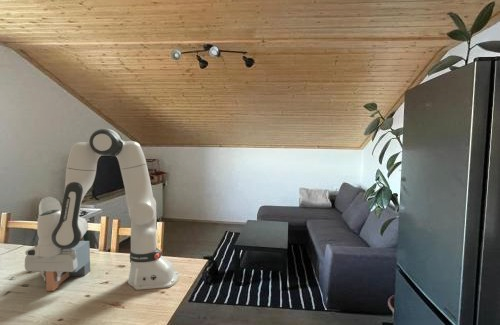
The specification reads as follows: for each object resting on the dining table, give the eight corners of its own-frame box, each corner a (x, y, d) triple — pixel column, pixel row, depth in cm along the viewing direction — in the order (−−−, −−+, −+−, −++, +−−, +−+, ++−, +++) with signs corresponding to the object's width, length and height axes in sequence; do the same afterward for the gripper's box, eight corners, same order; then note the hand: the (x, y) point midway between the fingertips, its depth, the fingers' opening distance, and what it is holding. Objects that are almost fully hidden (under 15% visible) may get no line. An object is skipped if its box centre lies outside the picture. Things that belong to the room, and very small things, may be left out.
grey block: (90, 270, 144) (89, 240, 143) (76, 283, 132) (74, 250, 131) (53, 270, 144) (51, 240, 143) (35, 282, 132) (33, 250, 131)
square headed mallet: (71, 276, 137) (70, 257, 136) (53, 290, 124) (53, 269, 124) (64, 276, 137) (64, 257, 136) (46, 290, 124) (45, 269, 124)
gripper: (80, 246, 128) (81, 277, 129) (32, 245, 127) (33, 276, 129) (71, 252, 121) (72, 284, 123) (21, 251, 121) (22, 283, 122)
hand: (52, 280), depth 126 cm, fingers closed on square headed mallet, 3 cm apart
